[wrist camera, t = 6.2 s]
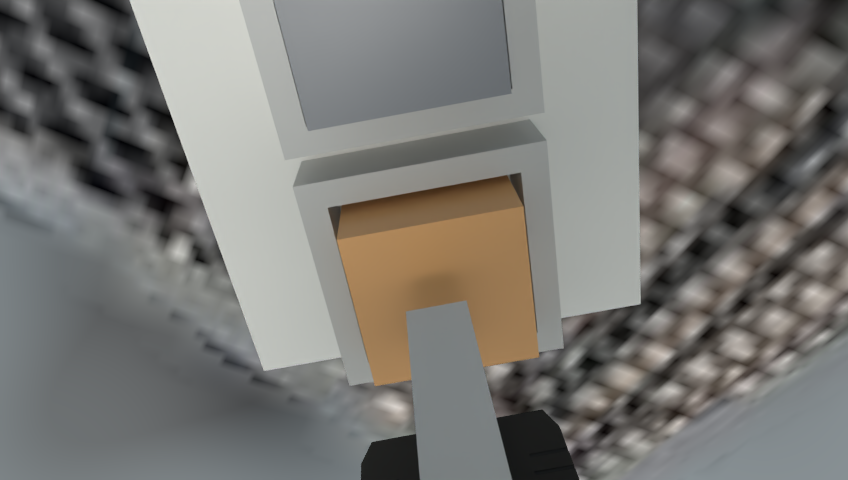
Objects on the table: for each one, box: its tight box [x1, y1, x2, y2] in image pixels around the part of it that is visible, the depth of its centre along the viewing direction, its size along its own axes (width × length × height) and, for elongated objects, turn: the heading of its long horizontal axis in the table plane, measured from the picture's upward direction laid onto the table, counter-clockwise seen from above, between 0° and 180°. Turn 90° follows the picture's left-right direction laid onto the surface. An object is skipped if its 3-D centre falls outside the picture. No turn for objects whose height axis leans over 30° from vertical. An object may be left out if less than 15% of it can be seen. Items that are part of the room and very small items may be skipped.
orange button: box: [337, 175, 539, 386], centre depth 18 cm, size 5×5×2 cm
